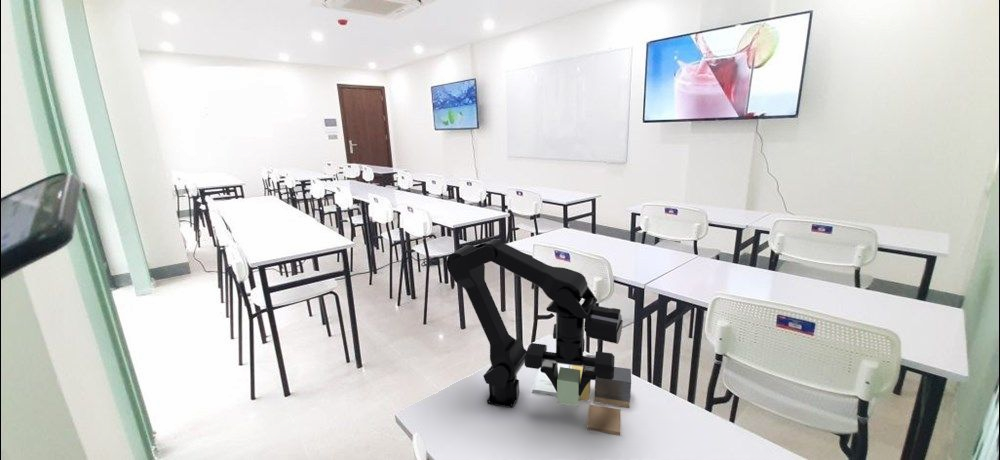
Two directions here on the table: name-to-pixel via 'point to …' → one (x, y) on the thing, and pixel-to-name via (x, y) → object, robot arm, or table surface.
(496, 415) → the table surface
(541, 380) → the external hard drive
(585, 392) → the ochre part
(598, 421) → the walnut pad
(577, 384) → the green part
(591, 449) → the table surface
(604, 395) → the block
